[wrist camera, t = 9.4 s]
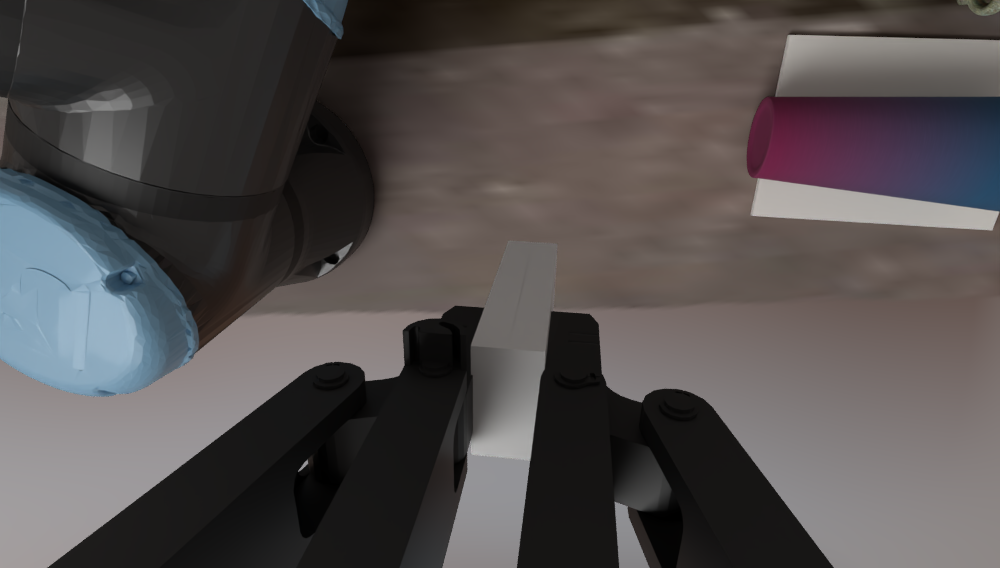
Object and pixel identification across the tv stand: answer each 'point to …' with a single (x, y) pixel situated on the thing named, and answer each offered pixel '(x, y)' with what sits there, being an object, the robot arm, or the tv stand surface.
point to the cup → (882, 146)
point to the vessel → (982, 6)
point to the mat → (879, 73)
